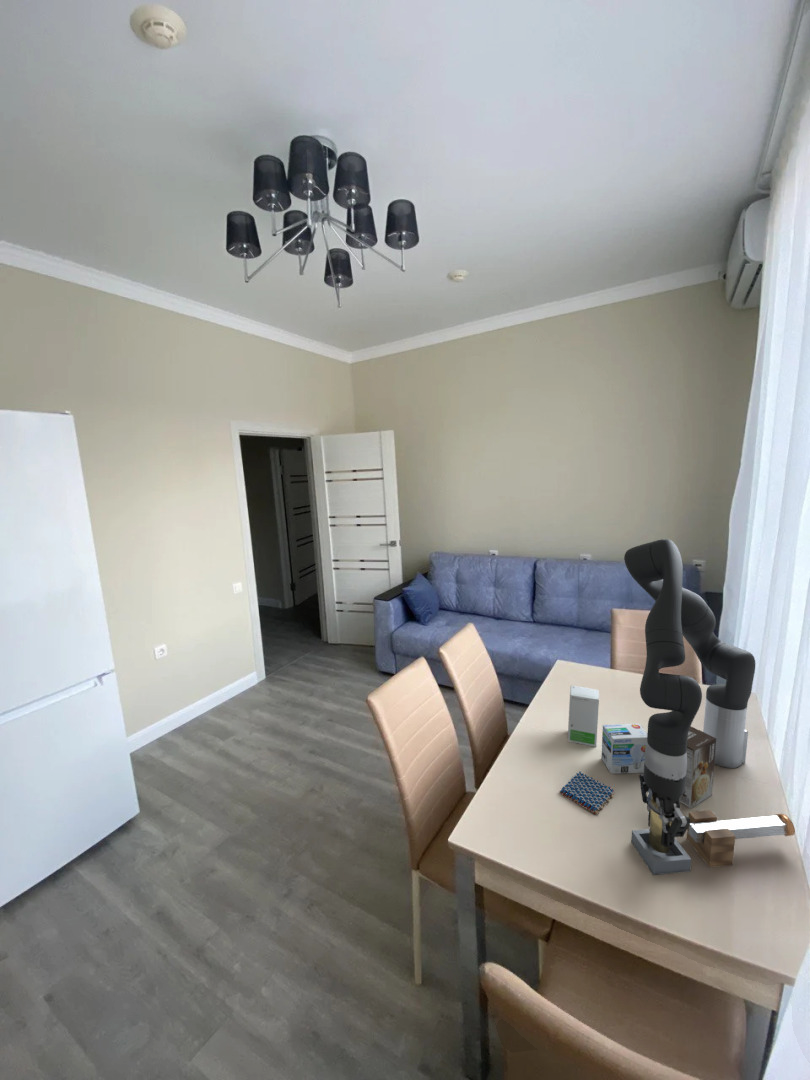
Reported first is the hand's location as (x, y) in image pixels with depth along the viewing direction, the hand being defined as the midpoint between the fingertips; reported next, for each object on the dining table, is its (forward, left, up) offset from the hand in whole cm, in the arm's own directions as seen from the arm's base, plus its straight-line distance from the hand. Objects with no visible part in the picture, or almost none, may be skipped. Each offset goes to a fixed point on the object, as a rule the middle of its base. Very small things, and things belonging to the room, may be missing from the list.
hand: (660, 835), depth 94 cm
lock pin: (-18, 0, -2) cm, 18 cm away
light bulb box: (-8, -28, -5) cm, 29 cm away
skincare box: (-2, -41, -5) cm, 41 cm away
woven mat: (+7, -19, -6) cm, 21 cm away
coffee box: (-18, -16, -5) cm, 25 cm away
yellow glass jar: (0, 0, -2) cm, 2 cm away
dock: (0, 0, -5) cm, 5 cm away
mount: (-11, 0, -5) cm, 12 cm away
